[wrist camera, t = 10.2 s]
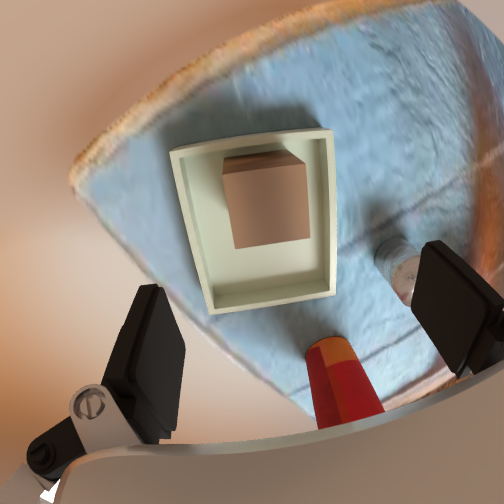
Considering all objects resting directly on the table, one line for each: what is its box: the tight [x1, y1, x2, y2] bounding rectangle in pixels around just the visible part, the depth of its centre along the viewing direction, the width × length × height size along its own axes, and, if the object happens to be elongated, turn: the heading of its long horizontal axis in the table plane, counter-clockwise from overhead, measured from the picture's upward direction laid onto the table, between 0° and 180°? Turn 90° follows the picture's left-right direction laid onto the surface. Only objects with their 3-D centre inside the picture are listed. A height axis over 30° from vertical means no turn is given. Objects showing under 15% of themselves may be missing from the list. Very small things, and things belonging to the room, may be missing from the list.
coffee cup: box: [306, 336, 385, 430], centre depth 28 cm, size 8×8×15 cm
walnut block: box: [222, 149, 310, 249], centre depth 20 cm, size 5×5×6 cm
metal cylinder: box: [375, 236, 421, 307], centre depth 25 cm, size 4×4×6 cm
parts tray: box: [169, 127, 337, 315], centre depth 24 cm, size 12×15×3 cm
